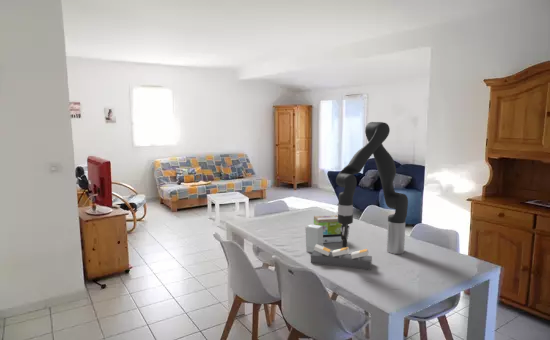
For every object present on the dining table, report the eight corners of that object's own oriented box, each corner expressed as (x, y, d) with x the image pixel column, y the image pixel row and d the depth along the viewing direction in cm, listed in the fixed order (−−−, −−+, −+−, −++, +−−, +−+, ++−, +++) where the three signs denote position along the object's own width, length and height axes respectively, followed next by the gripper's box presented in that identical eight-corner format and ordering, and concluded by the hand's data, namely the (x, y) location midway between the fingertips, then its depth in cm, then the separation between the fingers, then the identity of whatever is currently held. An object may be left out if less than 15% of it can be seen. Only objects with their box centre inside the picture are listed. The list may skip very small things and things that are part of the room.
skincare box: (323, 251, 212) (323, 225, 210) (318, 254, 207) (318, 228, 205) (310, 248, 216) (310, 223, 215) (305, 251, 212) (305, 225, 210)
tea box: (318, 244, 225) (318, 219, 223) (313, 239, 235) (313, 215, 233) (341, 242, 228) (342, 218, 226) (335, 237, 238) (336, 214, 236)
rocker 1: (315, 247, 198) (316, 243, 197) (329, 253, 195) (331, 249, 195) (313, 249, 194) (314, 246, 193) (328, 256, 192) (329, 252, 191)
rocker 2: (334, 253, 195) (333, 249, 195) (349, 250, 192) (348, 246, 192) (333, 256, 191) (331, 252, 191) (348, 253, 188) (347, 249, 188)
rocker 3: (353, 255, 192) (351, 251, 192) (368, 252, 189) (367, 248, 189) (352, 258, 188) (350, 254, 188) (367, 255, 185) (366, 251, 185)
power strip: (314, 257, 203) (314, 247, 202) (371, 263, 193) (372, 253, 192) (310, 262, 195) (310, 252, 194) (370, 269, 185) (370, 259, 185)
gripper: (340, 209, 196) (339, 242, 198) (335, 215, 183) (334, 250, 185) (354, 210, 193) (353, 243, 195) (351, 216, 181) (350, 251, 183)
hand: (344, 246), depth 190 cm, fingers closed
